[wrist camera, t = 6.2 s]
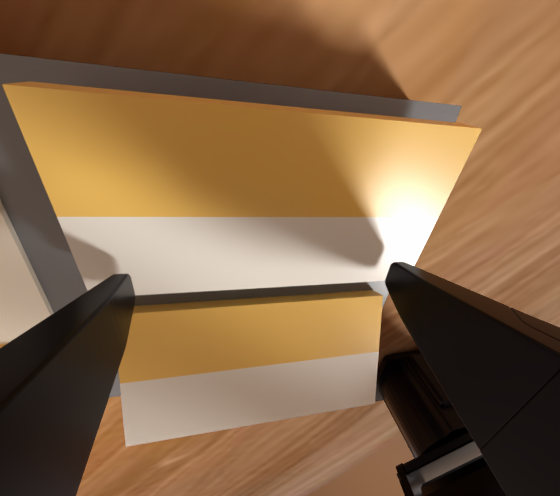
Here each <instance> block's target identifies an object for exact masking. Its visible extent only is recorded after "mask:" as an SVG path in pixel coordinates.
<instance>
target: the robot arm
mask: <svg viewBox="0 0 560 496" xmlns="http://www.w3.org/2000/svg"><path fill="white" fill-rule="evenodd" d="M385 285H386V288H387V290H388V292H389V294H390V296H391V298H392V300H393V303H394V305H395V307H396V309H397V311H398V313H399V315H400V317H401V319H402V321H403V323H404V325H405V326H406V328H407V330H408V331H409V333H410V335H411V336H412V338H413V340H414V341H415V343H416V345H417V346H418V348H419V350H420V351H419V352H412V353H404V354H396V355H389V356H387V357H385V358H384V360H383V362H382V364H381V366H380V368H379V371H378V373H377V382H376V395H375V401H381V400H384V402H385V403H386V405H387V407H388V409H389V411H390V413H391V415H392V417H393V418H394V420H395V422H396V424H397V426H398V428H399V430H400V432H401V434H402V435H403V437H404V439H405V441H406V443H407V445H408V447H409V449H410V451H411V452H412V454H413V456H414V458H415V459H413V460H411V461H409V462H407V463H405V464H400V465H398V466H396V469H397V472H398V473H397V476H398V478H399V481H400V484H401V486H402V489H403V492H404V494H405V496H560V327H557V326H555V325H552V324H550V323H547V322H544V321H542V320H540V319H537V318H535V317H532V316H530V315H528V314H525V313H523V312H520V311H518V310H516V309H513V308H509V307H508V306H506V305H504V304H502V303H499V302H497V301H495V300H492V299H490V298H487V297H485V296H483V295H480V294H478V293H476V292H473V291H471V290H469V289H466V288H464V287H462V286H459V285H457V284H455V283H452V282H450V281H448V280H445V279H443V278H441V277H438V276H436V275H433V274H431V273H429V272H426V271H424V270H422V269H419V268H417V267H415V266H412V265H410V264H408V263H405V262H393V263H392V264H391V265H390V268H389V270H388V273H387V276H386V279H385ZM134 305H135V292H134V288H133V284H132V280H131V276H130V275H129V274H127V273H126V274H113V275H111V276H110V277H108V278H107V279H105V280H104V281H102V282H101V283H99V284H98V285H96V286H95V287H93V288H92V289H90V290H88V291H87V292H85V293H84V294H82V295H81V296H79V297H78V298H76V299H75V300H73V301H72V302H70V303H69V304H67V305H65V306H64V307H62V308H61V309H59V310H58V311H56V312H55V313H53V314H52V315H50V316H49V317H47V318H46V319H44V320H43V321H41V322H39V323H38V324H36V325H35V326H33V327H32V328H30V329H29V330H27V331H26V332H24V333H23V334H21V335H20V336H18V337H16V338H15V339H13V340H12V341H10V342H9V343H7V344H6V345H4V346H3V347H1V348H0V496H76V494H77V491H78V488H79V485H80V482H81V479H82V476H83V473H84V470H85V467H86V464H87V461H88V458H89V455H90V452H91V449H92V446H93V443H94V440H95V437H96V434H97V431H98V428H99V426H100V423H101V420H102V417H103V414H104V411H105V408H106V405H107V402H108V399H109V396H110V393H111V390H112V387H113V384H114V381H115V378H116V375H117V372H118V369H119V366H120V363H121V360H122V357H123V354H124V351H125V348H126V344H127V340H128V335H129V330H130V325H131V320H132V315H133V310H134Z"/></svg>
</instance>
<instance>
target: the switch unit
mask: <svg viewBox="0 0 560 496" xmlns="http://www.w3.org/2000/svg"><path fill="white" fill-rule="evenodd" d="M29 81H31V82H41V83H52V84H62V85H73V86H83V87H93V88H104V89H114V90H124V91H135V92H145V93H156V94H166V95H176V96H187V97H197V98H207V99H218V100H228V101H238V102H249V103H259V104H270V105H280V106H290V107H301V108H311V109H321V110H332V111H342V112H353V113H363V114H373V115H384V116H394V117H404V118H415V119H425V120H436V121H446V122H456V119H457V117H458V114H459V112H460V109H461V107H462V106H457V105H449V104H440V103H431V102H422V101H413V100H405V99H396V98H387V97H378V96H370V95H361V94H352V93H343V92H334V91H326V90H317V89H308V88H299V87H290V86H282V85H273V84H264V83H255V82H246V81H238V80H229V79H220V78H211V77H202V76H194V75H185V74H176V73H167V72H158V71H150V70H141V69H132V68H123V67H114V66H106V65H97V64H88V63H79V62H70V61H62V60H53V59H44V58H35V57H26V56H18V55H9V54H0V348H1V347H3V346H4V345H6V344H7V343H9V342H10V341H12V340H13V339H15V338H16V337H18V336H20V335H21V334H23V333H24V332H26V331H27V330H29V329H30V328H32V327H33V326H35V325H36V324H38V323H39V322H41V321H43V320H44V319H46V318H47V317H49V316H50V315H52V314H53V313H55V312H56V311H58V310H59V309H61V308H62V307H64V306H65V305H67V304H69V303H70V302H72V301H73V300H75V299H76V298H78V297H79V296H81V295H82V294H84V293H85V292H87V288H86V286H85V284H84V281H83V279H82V276H81V274H80V271H79V269H78V267H77V264H76V262H75V259H74V257H73V255H72V252H71V250H70V247H69V245H68V242H67V240H66V238H65V235H64V233H63V230H62V228H61V226H60V223H59V221H58V218H57V216H56V214H55V211H54V209H53V206H52V204H51V201H50V199H49V197H48V194H47V192H46V189H45V187H44V185H43V182H42V180H41V177H40V175H39V173H38V170H37V168H36V165H35V163H34V160H33V158H32V156H31V153H30V151H29V148H28V146H27V144H26V141H25V139H24V136H23V134H22V132H21V129H20V127H19V124H18V122H17V119H16V117H15V115H14V112H13V110H12V107H11V105H10V103H9V100H8V98H7V95H6V93H5V91H4V88H3V86H2V84H9V83H19V82H29ZM367 290H374V291H376V292H378V293H379V294H381V295H383V302H382V308H383V305H384V303H385V300H386V298H387V295H388V293H389V292H388V290H387V288H386V285H385V281H373V282H356V283H339V284H321V285H304V286H287V287H270V288H253V289H236V290H219V291H202V292H185V293H168V294H151V295H135V305H134V306H142V305H157V304H172V303H187V302H202V301H217V300H232V299H247V298H262V297H277V296H292V295H307V294H322V293H337V292H352V291H367ZM115 396H121V391H120V380H119V370H118V372H117V375H116V378H115V381H114V384H113V387H112V390H111V393H110V396H109V397H115Z"/></svg>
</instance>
